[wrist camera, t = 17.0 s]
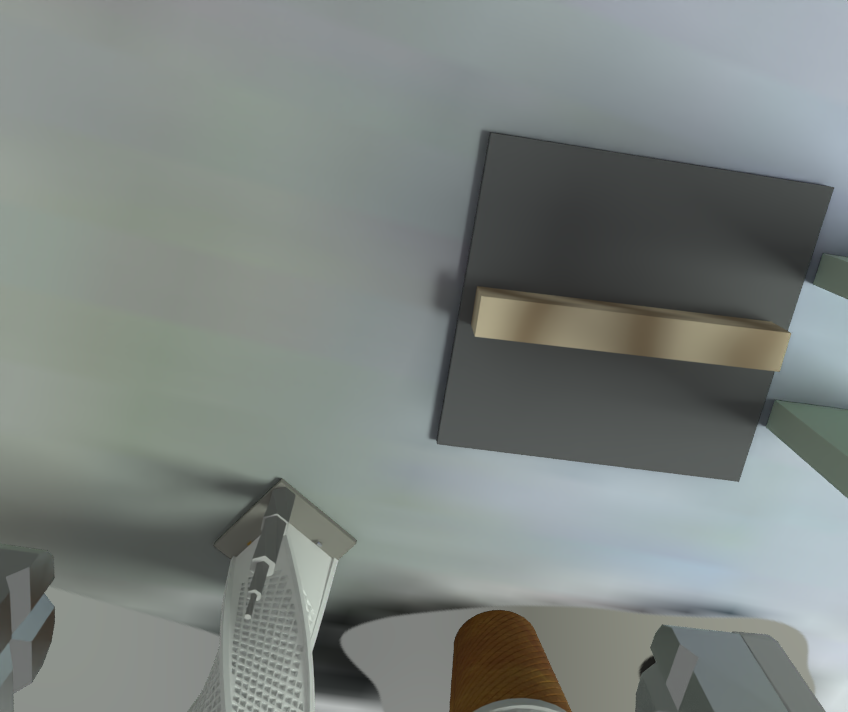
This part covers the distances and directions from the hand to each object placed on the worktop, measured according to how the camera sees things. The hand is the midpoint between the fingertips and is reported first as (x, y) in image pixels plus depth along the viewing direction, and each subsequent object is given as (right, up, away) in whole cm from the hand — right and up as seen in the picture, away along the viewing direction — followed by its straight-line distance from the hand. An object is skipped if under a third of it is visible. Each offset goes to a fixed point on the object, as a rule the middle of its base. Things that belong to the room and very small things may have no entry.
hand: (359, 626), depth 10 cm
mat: (+14, +6, +37) cm, 40 cm away
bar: (+13, +6, +36) cm, 39 cm away
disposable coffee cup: (+6, -18, +45) cm, 49 cm away
